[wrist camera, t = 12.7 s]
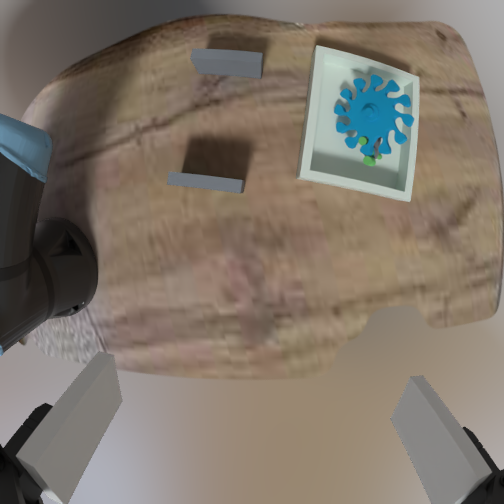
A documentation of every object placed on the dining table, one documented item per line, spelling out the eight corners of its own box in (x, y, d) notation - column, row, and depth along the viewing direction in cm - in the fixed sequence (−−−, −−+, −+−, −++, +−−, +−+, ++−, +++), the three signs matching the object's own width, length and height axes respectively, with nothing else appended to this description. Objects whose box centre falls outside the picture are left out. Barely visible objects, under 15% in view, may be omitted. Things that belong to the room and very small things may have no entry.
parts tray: (295, 178, 34) (299, 177, 30) (311, 56, 30) (316, 45, 27) (397, 200, 34) (410, 201, 30) (407, 84, 30) (419, 77, 27)
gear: (337, 70, 28) (414, 76, 22) (359, 86, 32) (427, 95, 26) (323, 154, 32) (401, 174, 26) (346, 161, 36) (414, 179, 29)
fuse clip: (179, 184, 34) (167, 184, 29) (200, 64, 31) (192, 48, 26) (243, 192, 34) (240, 193, 29) (262, 69, 31) (262, 53, 26)
